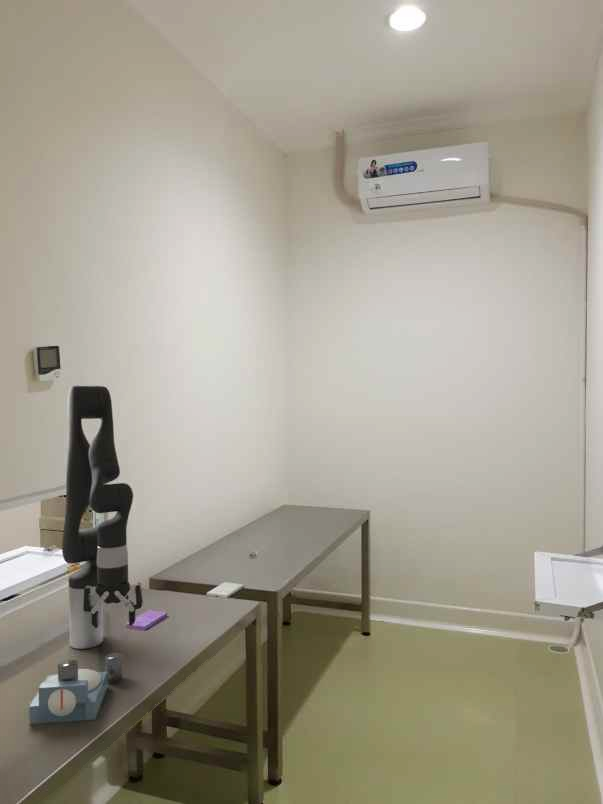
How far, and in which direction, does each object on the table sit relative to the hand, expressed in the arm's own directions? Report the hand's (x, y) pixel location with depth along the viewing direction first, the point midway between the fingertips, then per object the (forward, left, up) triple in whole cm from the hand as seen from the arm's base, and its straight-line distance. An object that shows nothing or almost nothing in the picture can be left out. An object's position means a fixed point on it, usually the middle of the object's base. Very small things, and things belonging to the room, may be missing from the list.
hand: (113, 625), depth 158 cm
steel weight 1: (+13, -8, -9) cm, 18 cm away
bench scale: (+11, -8, -14) cm, 20 cm away
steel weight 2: (0, 0, -14) cm, 14 cm away
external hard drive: (-65, +28, -15) cm, 72 cm away
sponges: (-39, +3, -15) cm, 42 cm away
